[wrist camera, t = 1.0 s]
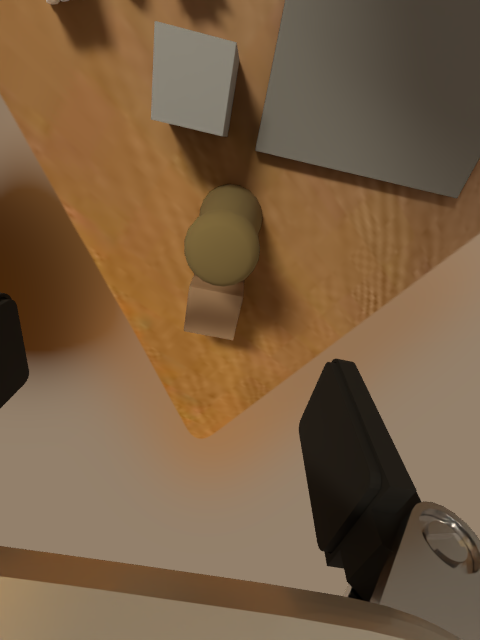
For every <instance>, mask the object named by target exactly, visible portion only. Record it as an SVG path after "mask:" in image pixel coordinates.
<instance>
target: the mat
mask: <svg viewBox="0 0 480 640" xmlns="http://www.w3.org/2000/svg"><path fill="white" fill-rule="evenodd" d="M255 151H259V152H263V153H267V154H271V155H276V156H280V157H284V158H288V159H293V160H297V161H301V162H305V163H310V164H314V165H318V166H322V167H326V168H331V169H335V170H339V171H343V172H348V173H352V174H356V175H360V176H364V177H369V178H373V179H377V180H381V181H386V182H390V183H394V184H398V185H402V186H407V187H411V188H415V189H419V190H424V191H428V192H432V193H436V194H440V195H445V196H449V197H453V198H458V196H459V194H460V192H461V191H462V189H463V187H464V185H465V183H466V182H467V180H468V178H469V176H470V174H471V172H472V171H473V169H474V167H475V165H476V163H477V162H478V160H479V158H480V0H285V4H284V9H283V14H282V19H281V24H280V29H279V34H278V39H277V44H276V49H275V54H274V59H273V64H272V69H271V74H270V79H269V84H268V89H267V94H266V99H265V104H264V109H263V114H262V119H261V124H260V129H259V134H258V139H257V144H256V149H255Z"/></svg>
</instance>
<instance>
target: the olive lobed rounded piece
mask: <svg viewBox="0 0 480 640" xmlns="http://www.w3.org/2000/svg"><path fill="white" fill-rule="evenodd" d="M262 218H263V217H262V211H261V206H260V204H259V202H258V200H257V198H256V197H255V196H254V195H253V194H252V193H251V192H250V191H249V190H247V189H245V188H243V187H241V186H239V185H232V184H227V185H223V186H218V187H217V188H215V189H214V190H212V191H211V192H209V194H208V195H207V196H206V198H205V199H204V200H203V203H202V206H201V208H200V215H199V217H198V218H197V219H196V220H195V221H194V223H193V224H192V225H191V226H190V228H189V229H188V232H187V235H186V237H185V250H184V252H185V256H186V260H187V263H188V265H189V267H190V268H191V270H192V271H193V273H194V274H195V275H196V276H197V277H199V278H200V279H201V280H202V281H204V282H207V283H209V284H211V285H215V286H223V287H225V286H230V285H235V284H237V283H239V282H241V281H243V280H245V279H246V278H247V277H248V276H249V275H250V274H251V273H252V271H253V270H254V268H255V266H256V264H257V262H258V260H259V253H260V244H259V239H258V233H259V231H260V229H261V225H262Z"/></svg>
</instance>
